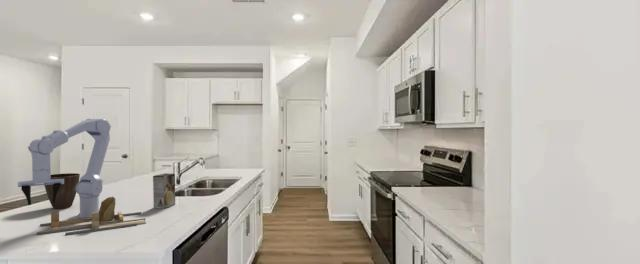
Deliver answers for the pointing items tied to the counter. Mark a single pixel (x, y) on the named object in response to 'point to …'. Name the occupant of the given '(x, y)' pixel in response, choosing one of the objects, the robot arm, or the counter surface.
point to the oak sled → (76, 221)
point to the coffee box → (164, 190)
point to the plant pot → (63, 190)
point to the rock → (107, 209)
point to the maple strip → (96, 224)
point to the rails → (91, 226)
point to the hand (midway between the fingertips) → (42, 203)
